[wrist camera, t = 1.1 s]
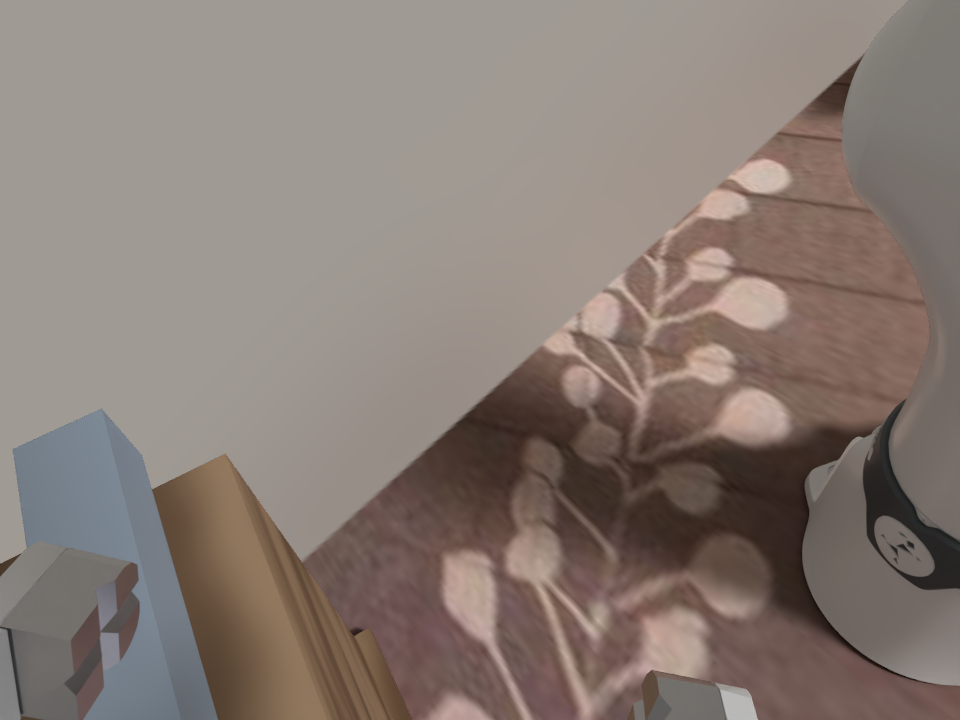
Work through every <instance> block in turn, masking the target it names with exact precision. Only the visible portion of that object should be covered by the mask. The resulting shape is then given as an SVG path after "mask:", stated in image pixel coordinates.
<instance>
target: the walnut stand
mask: <svg viewBox="0 0 960 720" xmlns="http://www.w3.org/2000/svg"><path fill="white" fill-rule="evenodd" d="M152 492H153V495H154V499H155V502H156V505H157V509H158V512H159V516H160V519H161V523H162V526H163V530H164V533H165V537H166V540H167V544H168V547H169V551H170V554H171V558H172V561H173V565H174V568H175V572H176V575H177V579H178V582H179V585H180V589H181V592H182V596H183V599H184V603H185V606H186V610H187V613H188V617H189V620H190V624H191V627H192V631H193V634H194V638H195V641H196V645H197V648H198V652H199V655H200V658H201V662H202V665H203V669H204V672H205V676H206V679H207V683H208V686H209V690H210V693H211V697H212V700H213V704H214V707H215V711H216V714H217V718H218V720H412V718H411V715H410V713H409V711H408V709H407V707H406V705H405V702H404V700H403V698H402V696H401V694H400V691H399V689H398V687H397V685H396V683H395V680H394V678H393V676H392V674H391V672H390V669H389V667H388V665H387V663H386V661H385V659H384V656H383V654H382V652H381V650H380V648H379V645H378V643H377V641H376V639H375V637H374V634H373V633H372V631H371V629H370V628H368V629H366V630H364V631H362V632H361V633H359V634H357V635H355V636H353V634H352V633H351V632H350V630H349V629H348V627H347V626H346V624H345V623H344V622H343V620H342V619H341V617H340V616H339V615H338V613H337V612H336V610H335V609H334V607H333V606H332V605H331V603H330V602H329V600H328V599H327V597H326V596H325V595H324V593H323V592H322V590H321V589H320V587H319V586H318V585H317V583H316V582H315V580H314V579H313V578H312V576H311V575H310V573H309V572H308V570H307V569H306V568H305V566H304V565H303V563H302V562H301V560H300V559H299V558H298V556H297V555H296V553H295V552H294V551H293V549H292V548H291V546H290V545H289V543H288V542H287V541H286V539H285V538H284V536H283V535H282V534H281V532H280V531H279V529H278V528H277V526H276V525H275V524H274V522H273V521H272V519H271V518H270V517H269V515H268V514H267V512H266V511H265V509H264V508H263V506H262V505H261V504H260V502H259V501H258V499H257V498H256V496H255V495H254V494H253V492H252V491H251V489H250V488H249V487H248V485H247V484H246V482H245V481H244V479H243V478H242V477H241V475H240V474H239V472H238V471H237V469H236V468H235V467H234V465H233V464H232V462H231V461H230V459H229V458H228V457H227V455H226V454H224V455H222V456H219V457H217V458H215V459H213V460H211V461H210V462H207V463H205V464H204V465H201V466H199V467H197V468H195V469H193V470H191V471H189V472H187V473H185V474H183V475H181V476H179V477H177V478H175V479H173V480H170V481H168V482H167V483H165V484H162V485H160V486H158V487H156V488H154V489H152ZM21 554H22V553H21ZM21 554H19V555H17V556H15V557H13V558H11V559H9V560H7V561H5V562H3V563H1V564H0V576H1V575H2V574H3V573H4V572H5V571H6V570H7V569H8V568H9V567H10V566H11V565H12V564H13V562H14V561H15V560H16V559H17V558H18V557H19V556H20V555H21ZM21 720H43V719H37V718H31V717H26V716H21Z"/></svg>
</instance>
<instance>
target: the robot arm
mask: <svg viewBox="0 0 960 720" xmlns="http://www.w3.org/2000/svg"><path fill="white" fill-rule="evenodd" d="M842 149H843V155H844V162H845V166H846V169H847V172H848V176H849V179H850V182H851V184H852V186H853V189H854V191H855V193H856V195H857V196H858V197H859V198H860V199H861V200H862V201H863V202H864V203H865V204H866V206H867V207H868V208H869V209H870V210H871V211H872V212H873V213H874V214H875V215H876V216H877V217H878V218H879V219H880V221H881V222H882V223H883V224H884V226H885V227H886V228H887V229H888V230H889V232H890V233H891V234H892V236H893V237H894V239H895V240H896V242H897V243H898V245H899V246H900V248H901V249H902V251H903V253H904V255H905V256H906V258H907V260H908V262H909V264H910V266H911V268H912V270H913V272H914V274H915V277H916V279H917V282H918V284H919V286H920V289H921V292H922V295H923V299H924V302H925V306H926V311H927V315H928V322H929V342H928V347H927V350H926V353H925V356H924V359H923V362H922V364H921V367H920V370H919V373H918V375H917V377H916V380H915V382H914V384H913V387H912V389H911V391H910V393H909V395H908V397H907V399H905V400H904V401H903V402H901V403H900V404H899V405H898V406H897V407H896V408H895V409H894V410H893V411H892V412H891V414H890V415H889V416H888V417H887V418H886V419H885V420H884V421H883V423H882V424H881V425H880V426H878V427H877V428H876V429H875V430H874V431H873V432H872V434H871V435H869V436H867V437H865V438H862V437H856V438H855V439H853V440H852V441H851V442H850V444H849V445H848V446H847V448H846V449H845V451H844V452H843V454H842V456H841V457H840V459H839V460H836V461H833V462H831V463H828V464H825V465H822V466H819V467H817V468H815V469H813V470H812V471H811V472H810V474H809V475H808V476H807V478H806V480H805V493H806V498H807V503H808V507H809V511H810V512H809V520H808V524H807V528H806V531H805V535H804V539H803V547H802V560H803V568H804V573H805V577H806V580H807V583H808V586H809V589H810V591H811V594H812V596H813V598H814V600H815V602H816V603H817V605H818V607H819V608H820V610H821V611H822V613H823V614H824V616H825V617H826V619H827V620H828V621H829V622H830V624H831V625H832V626H833V627H834V628H835V630H836V631H837V632H838V633H839V634H840V635H841V636H842V637H843V638H844V639H845V640H846V641H848V642H849V643H850V644H851V645H852V646H853V647H855V648H856V649H857V650H858V651H860V652H861V653H862V654H864V655H865V656H867V657H868V658H870V659H871V660H873V661H875V662H876V663H878V664H880V665H882V666H884V667H886V668H887V669H890V670H892V671H894V672H896V673H899V674H901V675H904V676H906V677H909V678H913V679H916V680H920V681H924V682H928V683H934V684H941V685H957V686H960V0H908V1H907V2H906V3H905V4H904V5H903V6H902V7H901V8H900V9H899V10H898V11H897V12H896V13H895V14H894V15H893V16H892V17H891V18H890V19H889V21H888V22H887V23H886V24H885V26H884V27H883V28H882V29H881V31H880V32H879V33H878V34H877V36H876V37H875V38H874V40H873V41H872V43H871V44H870V46H869V48H868V49H867V51H866V53H865V54H864V56H863V58H862V60H861V61H860V63H859V65H858V67H857V70H856V72H855V74H854V77H853V79H852V82H851V85H850V88H849V91H848V95H847V99H846V102H845V107H844V112H843V122H842ZM138 581H139V577H138V566H137V564H135V563H133V562H129V561H125V560H121V559H116V558H112V557H108V556H104V555H100V554H95V553H91V552H87V551H83V550H78V549H74V548H68V547H64V546H60V545H55V544H51V543H46V542H42V541H38V542H36V543H34V544H32V545H31V546H29V547H27V549H26V550H25V551H24V552H23V553H22V554H21V555H20V556H19V557H18V558H17V559H16V560H15V561H14V562H13V564H12V565H11V566H10V567H9V568H8V569H7V570H6V571H5V572H4V573H3V574H2V575H1V576H0V720H21V716H26V717H31V718H37V719H43V720H83V719H84V718H85V716H86V715H87V713H88V711H89V710H90V708H91V707H92V705H93V704H94V702H95V701H96V699H97V697H98V696H99V694H100V693H101V691H102V690H103V688H104V678H103V672H104V671H105V670H107V669H109V668H111V667H112V666H114V665H116V664H118V663H119V662H120V661H121V660H122V658H123V656H124V655H125V653H126V651H127V650H128V648H129V646H130V644H131V642H132V639H133V636H134V634H135V631H136V629H137V625H138V620H139V614H140V601H139V600H138V599H137V597H136V596H135V595H134V594H133V592H132V590H133V588H134V587H135V585H136V584H137V582H138ZM642 693H643V699H642V700H640V701H638V702H636V703H635V704H633V706H632V709H631V712H630V714H629V717H628V720H758V719H757V715H756V712H755V708H754V704H753V701H752V697H751V695H750V694H749V692H748V691H747V690H746V689H743V688H738V687H733V686H728V685H723V684H718V683H712V682H710V681H705V680H700V679H695V678H690V677H685V676H680V675H675V674H669V673H664V672H659V671H654V670H651V671H650V672H649V673H648V674H647V675H646V677H645V679H644V681H643V683H642Z"/></svg>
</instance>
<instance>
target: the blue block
mask: <svg viewBox="0 0 960 720" xmlns="http://www.w3.org/2000/svg"><path fill="white" fill-rule="evenodd" d="M13 454H14V461H15V468H16V475H17V482H18V489H19V496H20V503H21V510H22V517H23V524H24V531H25V538H26V545H27V547H29V546H31V545H32V544H34V543H36V542H38V541H42V542H46V543H51V544H55V545H60V546H64V547H68V548H74V549H78V550H83V551H87V552H91V553H95V554H100V555H104V556H108V557H112V558H116V559H121V560H125V561H129V562H133V563H135V564H137V566H138V577H139V581H138V582H137V584H136V585H135V587H134V588H133V590H132V592H133V594H134V595H135V596H136V597H137V599H138V600H139V601H140V614H139V620H138V625H137V629H136V631H135V634H134V636H133V639H132V642H131V644H130V646H129V648H128V650H127V651H126V653H125V655H124V656H123V658H122V660H121V661H120V662H119V663H118V664H116V665H114V666H112V667H111V668H109V669H107V670H105V671H104V672H103V678H104V688H103V690H102V691H101V693H100V694H99V696H98V697H97V699H96V701H95V702H94V704H93V705H92V707H91V708H90V710H89V711H88V713H87V715H86V716H85V718H84V719H83V720H218V718H217V714H216V711H215V707H214V704H213V700H212V697H211V693H210V690H209V686H208V683H207V679H206V676H205V672H204V669H203V665H202V662H201V658H200V655H199V652H198V648H197V645H196V641H195V638H194V634H193V631H192V627H191V624H190V620H189V617H188V613H187V610H186V606H185V603H184V599H183V596H182V592H181V589H180V585H179V582H178V579H177V575H176V572H175V568H174V565H173V561H172V558H171V554H170V551H169V547H168V544H167V540H166V537H165V533H164V530H163V526H162V523H161V519H160V516H159V512H158V509H157V505H156V502H155V499H154V495H153V492H152V488H151V485H150V481H149V478H148V474H147V471H146V467H145V464H144V460H143V457H142V455H141V454H140V452H139V451H138V450H137V449H136V448H135V447H134V445H132V443H131V442H130V441H129V440H128V439H127V437H126V436H125V435H124V434H123V433H122V432H121V430H120V429H119V428H118V427H117V426H116V425H115V424H114V422H113V421H112V420H111V419H110V418H109V417H108V416H107V415H106V413H105V412H104V411H103V410H102V409H100V410H98V411H95V412H93V413H91V414H89V415H87V416H84V417H82V418H80V419H78V420H76V421H74V422H71V423H69V424H67V425H65V426H63V427H60V428H58V429H56V430H54V431H52V432H50V433H47V434H45V435H43V436H41V437H39V438H36V439H34V440H32V441H30V442H27V443H25V444H23V445H21V446H19V447H17V448H14V449H13Z"/></svg>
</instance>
